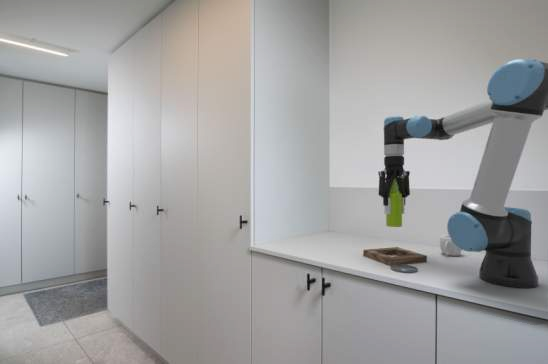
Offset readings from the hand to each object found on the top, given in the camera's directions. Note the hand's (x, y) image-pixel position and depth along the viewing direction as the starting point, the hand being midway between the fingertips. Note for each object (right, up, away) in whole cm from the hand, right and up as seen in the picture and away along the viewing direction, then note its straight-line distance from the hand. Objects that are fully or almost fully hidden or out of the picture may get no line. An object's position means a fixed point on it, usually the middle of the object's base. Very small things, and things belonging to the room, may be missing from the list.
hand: (394, 213), depth 131 cm
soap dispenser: (0, -5, 0) cm, 5 cm away
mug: (+25, -18, +6) cm, 32 cm away
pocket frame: (0, -18, +1) cm, 18 cm away
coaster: (-2, -18, -15) cm, 24 cm away
